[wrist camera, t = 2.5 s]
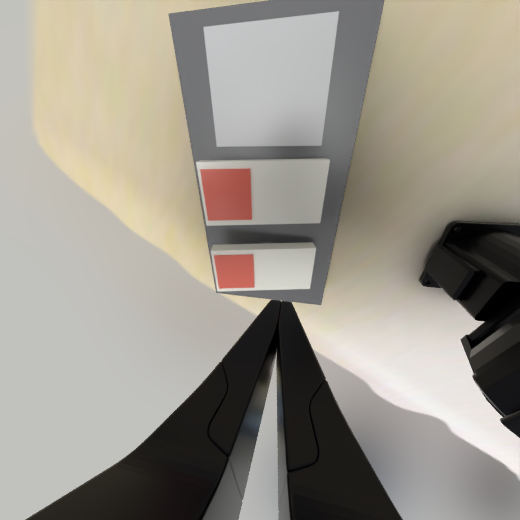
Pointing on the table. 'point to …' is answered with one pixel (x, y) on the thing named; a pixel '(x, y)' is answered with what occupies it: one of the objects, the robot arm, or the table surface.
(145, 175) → the table surface
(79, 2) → the table surface
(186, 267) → the table surface
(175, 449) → the robot arm
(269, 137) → the rocker switch panel
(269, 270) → the rocker
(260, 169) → the rocker
